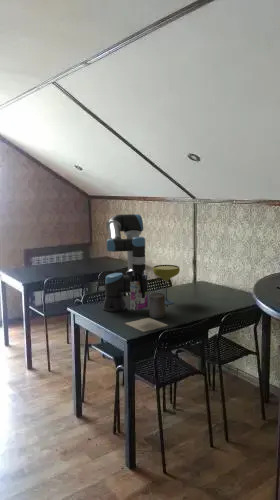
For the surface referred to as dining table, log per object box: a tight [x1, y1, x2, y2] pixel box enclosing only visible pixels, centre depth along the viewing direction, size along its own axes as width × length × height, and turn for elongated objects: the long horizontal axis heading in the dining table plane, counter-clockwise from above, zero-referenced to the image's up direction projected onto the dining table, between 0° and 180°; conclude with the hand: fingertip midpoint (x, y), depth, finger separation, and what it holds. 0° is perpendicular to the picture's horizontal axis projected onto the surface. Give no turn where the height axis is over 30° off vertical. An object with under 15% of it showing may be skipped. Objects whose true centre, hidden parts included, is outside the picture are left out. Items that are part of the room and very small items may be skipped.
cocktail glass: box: [152, 264, 180, 306], centre depth 307 cm, size 18×18×25 cm
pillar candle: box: [148, 292, 166, 319], centre depth 277 cm, size 10×10×15 cm
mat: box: [124, 317, 169, 333], centre depth 260 cm, size 18×18×1 cm
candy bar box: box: [129, 280, 149, 312], centre depth 263 cm, size 11×5×16 cm, turn 140°
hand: (139, 301), depth 264 cm, fingers closed on candy bar box, 6 cm apart
